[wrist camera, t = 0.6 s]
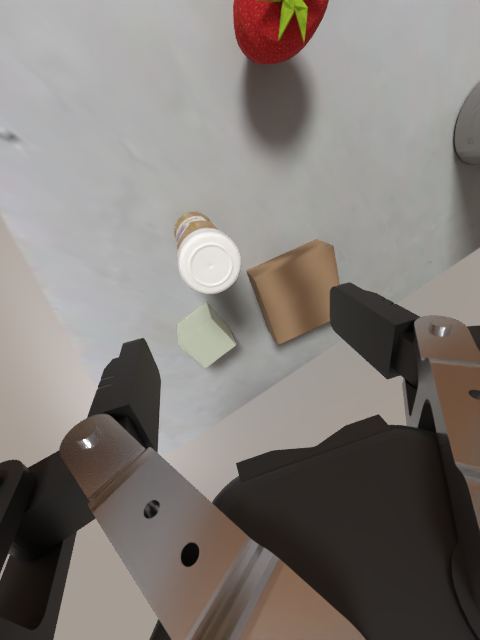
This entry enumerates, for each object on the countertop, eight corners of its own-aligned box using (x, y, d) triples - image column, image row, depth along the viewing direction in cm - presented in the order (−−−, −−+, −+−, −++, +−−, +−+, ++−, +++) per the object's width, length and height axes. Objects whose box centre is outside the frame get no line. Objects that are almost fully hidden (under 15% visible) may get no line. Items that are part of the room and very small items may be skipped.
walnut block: (316, 239, 34) (333, 245, 30) (329, 302, 39) (344, 314, 35) (246, 270, 33) (255, 281, 30) (268, 330, 38) (278, 344, 35)
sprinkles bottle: (179, 206, 28) (186, 223, 16) (219, 219, 30) (251, 242, 18) (170, 247, 30) (171, 289, 18) (208, 257, 31) (232, 301, 20)
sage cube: (206, 301, 34) (211, 318, 30) (228, 325, 37) (236, 344, 32) (177, 324, 35) (178, 344, 30) (201, 346, 37) (205, 368, 33)
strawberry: (306, 49, 24) (381, -22, 16) (242, 102, 25) (281, 62, 17) (277, -36, 21) (349, -180, 13) (205, 27, 22) (229, -70, 14)
